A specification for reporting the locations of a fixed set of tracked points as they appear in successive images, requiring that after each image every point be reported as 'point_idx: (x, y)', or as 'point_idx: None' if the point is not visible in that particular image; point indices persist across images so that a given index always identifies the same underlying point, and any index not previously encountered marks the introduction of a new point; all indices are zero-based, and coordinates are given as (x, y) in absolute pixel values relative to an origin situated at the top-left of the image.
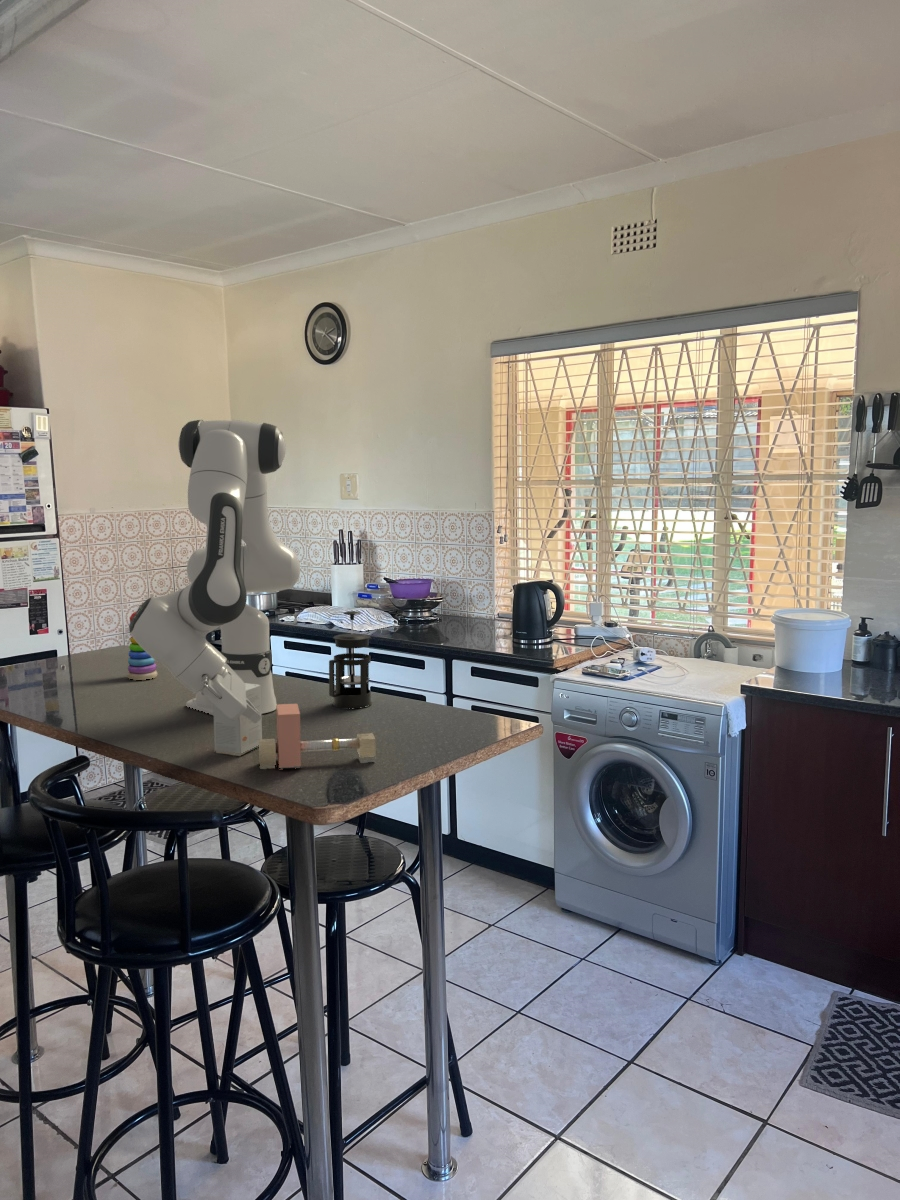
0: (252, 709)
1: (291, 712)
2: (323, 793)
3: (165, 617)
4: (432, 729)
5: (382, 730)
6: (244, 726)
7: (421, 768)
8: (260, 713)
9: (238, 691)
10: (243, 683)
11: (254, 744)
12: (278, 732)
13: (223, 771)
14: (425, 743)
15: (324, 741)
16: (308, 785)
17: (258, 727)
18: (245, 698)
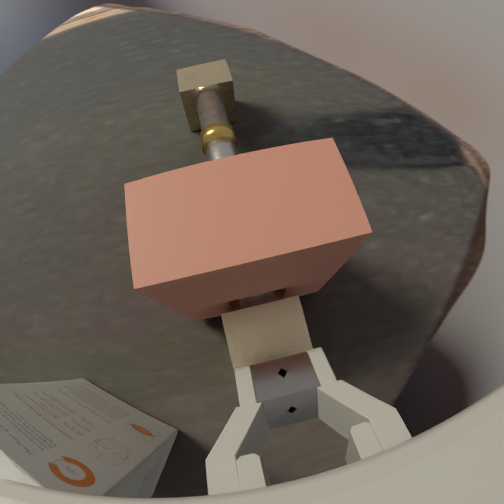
0: (362, 391)
1: (314, 175)
2: (430, 173)
3: None
4: (55, 74)
5: (30, 134)
6: (124, 440)
7: (262, 46)
8: (248, 366)
9: (469, 495)
10: (13, 500)
11: (110, 399)
12: (338, 263)
13: (314, 445)
14: (121, 60)
15: (230, 155)
16: (398, 205)
17: (65, 391)
18: (452, 429)
